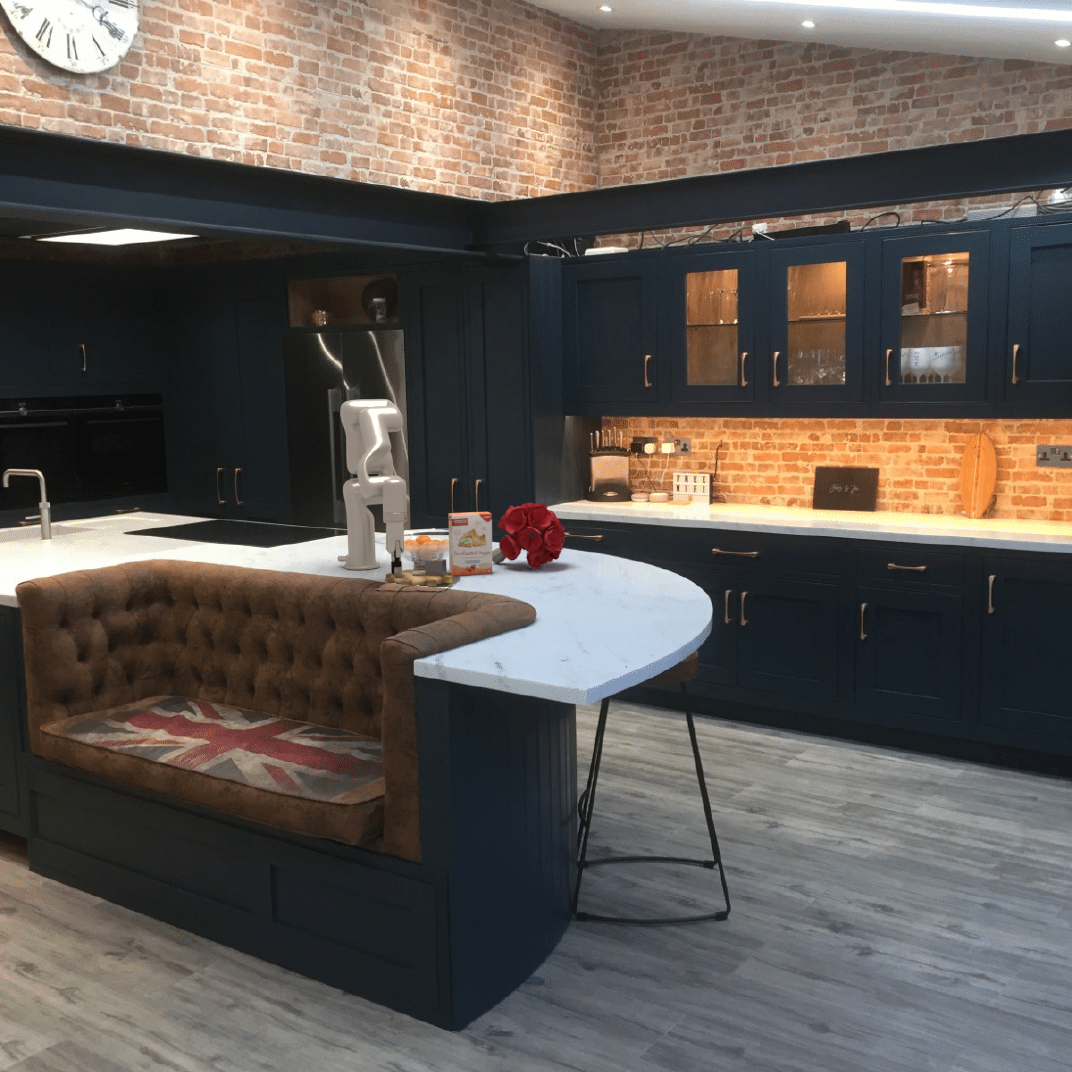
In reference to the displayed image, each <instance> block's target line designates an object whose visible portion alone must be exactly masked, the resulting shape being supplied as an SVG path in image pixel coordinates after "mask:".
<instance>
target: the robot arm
mask: <svg viewBox="0 0 1072 1072" xmlns="http://www.w3.org/2000/svg"><path fill="white" fill-rule="evenodd" d="M339 411H340V413H339V414H340V419H341V420H340V421H341V423H342V427H343V429H344V432H345V437H346V439H345V443H346V447H345V448H346V467H347V471H348V472H349V473H350V474H352V475H357V477H356V478H355V477H354V478H350V479H348V480H346V481H345V482H344V484H343V487H342V492H343V493H342V494H343V500H344V504H345V512H346V525H347V551H348V552H347V553H348V554H346V555H337V562H339V563H341V562H345V564H344V566H343V567H344V569H346V570H352V571H353V570H354V571H363V570H365V571H366V570H374V569H378V568H380V567H381V563H380V562H379V561H376V560H377V558H376V555H377V554H376V532H375V530H376V529H375V516H374V515H373V513H372V512H371V510H370V509H369V508H368V506H371V505H382V510H383V511H382V515H383V516H382V518H383V523H384V524H386V525H385V550H386V551H387V553H388V554H389V555H390V556H391V561H390V566H391V567H390V568H391V569H390V572H391V573H392V574H395V573H394V567H402V568H403V566H402V564H403V563H402V554H404V552H405V528H404V523H407V522H408V515H407V514H408V513H407V512H408V509H407V504H408V503H407V483H406V482H407V481H406V480H405V479H403V478H402V477H401V476H400V475H394V461H393V460H394V459H393V455H392V452H391V450H392V443H391V440H390V436H389V433H393V432H394V433H395V432H396V433H397V432H400V431H401V430H402V428H403V425H404V419H403V414H402V412H401V411H400V409H399V407H398V406H397V405H396V404H394V403H393V402H392V401H391V400H389V399H386V398H385V399H383V398H376V399H375V398H374V399H372V398H371V399H370V398H369V399H366V398H365V399H363V398H362V399H352V400H346V401H344V402H343V403H342V404H341V406H340V410H339ZM375 474H376V476H369V475H375ZM377 474H378V475H377Z"/></svg>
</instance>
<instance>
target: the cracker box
mask: <svg viewBox="0 0 1072 1072" xmlns="http://www.w3.org/2000/svg"><path fill="white" fill-rule="evenodd" d="M448 546H449V547H448V557H449V559H448V562H449V564H448V566H449V572H452V577H461V576H474V575H475V576H476V574H479V575H493V561H492V551H493V514H492V513H491V512H489V511H473V512H471V511H470V512H468V511H467V512H453V513H452V512H451V513H448Z"/></svg>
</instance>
